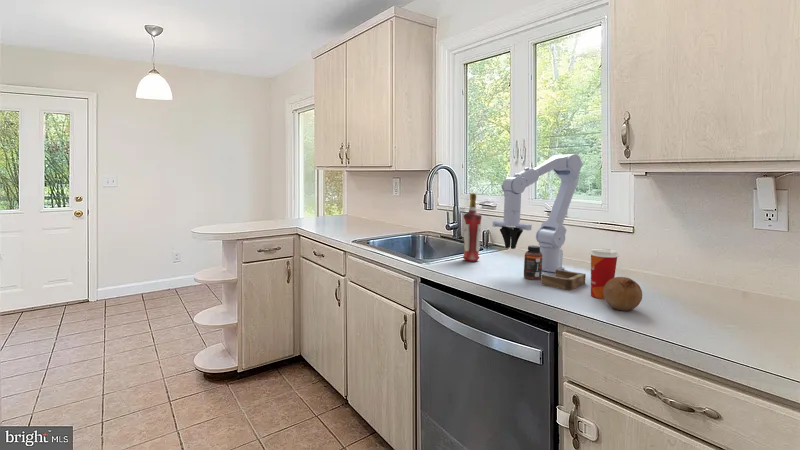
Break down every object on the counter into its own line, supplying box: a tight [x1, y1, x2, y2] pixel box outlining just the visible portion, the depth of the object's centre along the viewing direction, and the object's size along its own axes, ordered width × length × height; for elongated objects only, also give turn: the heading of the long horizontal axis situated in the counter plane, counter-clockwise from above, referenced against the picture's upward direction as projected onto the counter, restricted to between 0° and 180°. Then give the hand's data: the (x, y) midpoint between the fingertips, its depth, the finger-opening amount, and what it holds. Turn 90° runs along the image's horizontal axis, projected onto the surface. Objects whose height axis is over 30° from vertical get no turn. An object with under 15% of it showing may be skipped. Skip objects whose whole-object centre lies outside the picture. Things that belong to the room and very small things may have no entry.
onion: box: [603, 276, 643, 312], centre depth 115 cm, size 10×9×10 cm
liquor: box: [462, 192, 482, 263], centre depth 175 cm, size 7×7×28 cm
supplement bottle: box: [523, 245, 543, 281], centre depth 147 cm, size 6×6×11 cm
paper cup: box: [589, 248, 619, 300], centre depth 126 cm, size 8×8×14 cm
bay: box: [540, 269, 586, 291], centre depth 140 cm, size 12×10×3 cm
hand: (510, 248), depth 153 cm, fingers closed
